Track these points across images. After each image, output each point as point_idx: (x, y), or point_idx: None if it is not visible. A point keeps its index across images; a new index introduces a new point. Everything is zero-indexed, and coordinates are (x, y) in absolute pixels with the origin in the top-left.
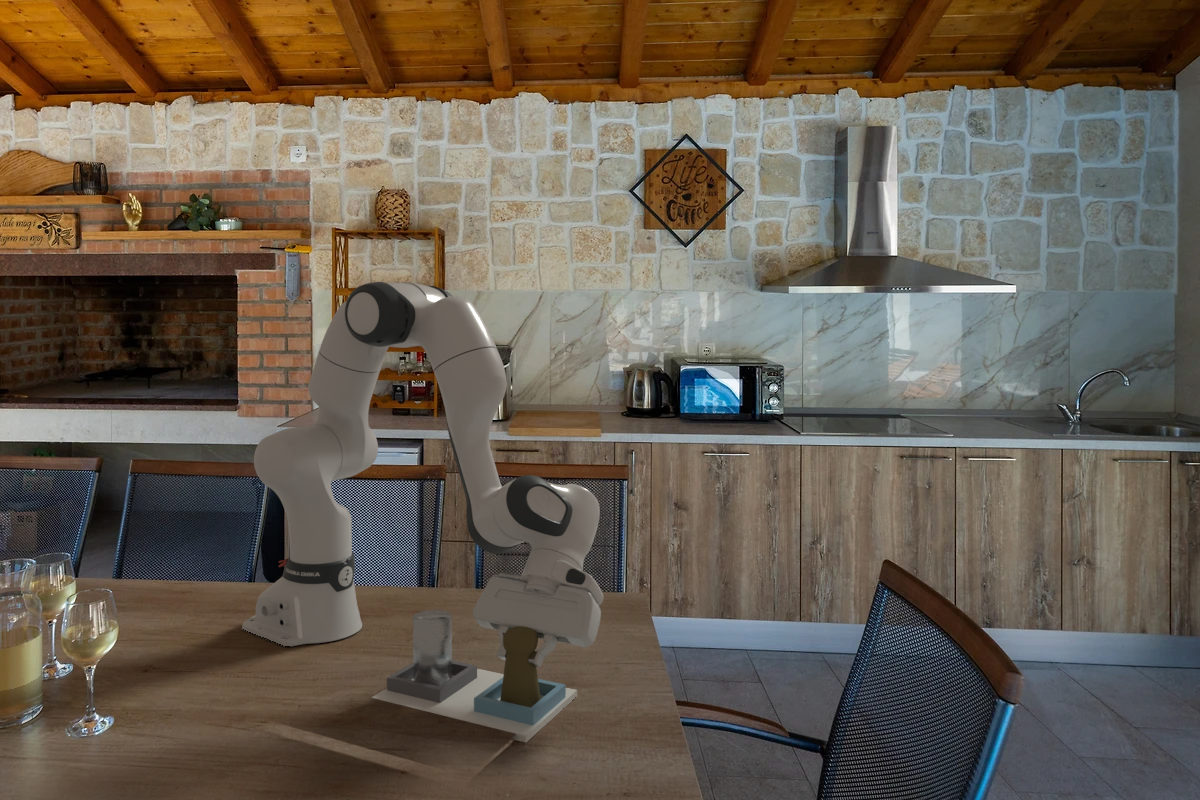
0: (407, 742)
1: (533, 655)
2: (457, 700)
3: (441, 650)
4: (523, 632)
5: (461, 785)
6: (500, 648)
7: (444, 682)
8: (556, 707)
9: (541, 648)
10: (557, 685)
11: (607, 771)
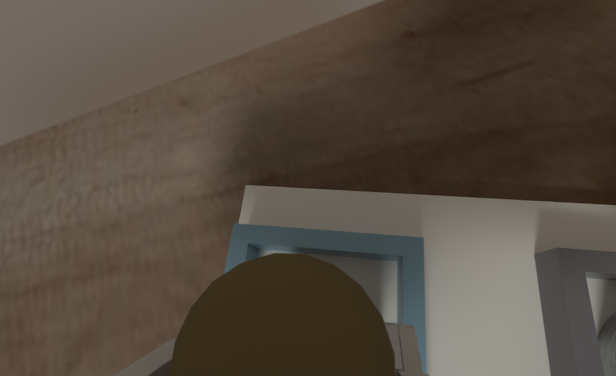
0: (477, 105)
1: None
2: (500, 287)
3: None
4: (227, 330)
5: (300, 43)
6: (409, 349)
7: (613, 347)
8: None
9: (166, 353)
10: None
11: (87, 159)
